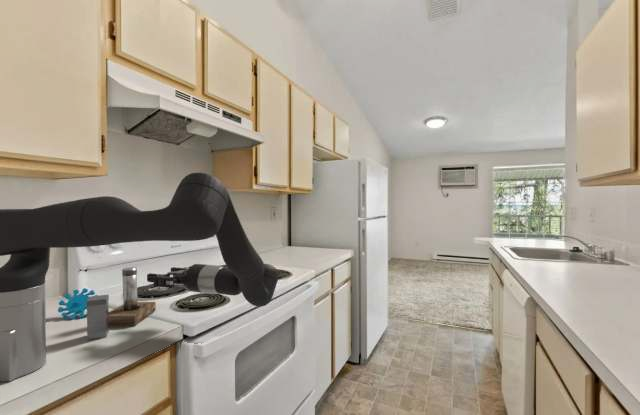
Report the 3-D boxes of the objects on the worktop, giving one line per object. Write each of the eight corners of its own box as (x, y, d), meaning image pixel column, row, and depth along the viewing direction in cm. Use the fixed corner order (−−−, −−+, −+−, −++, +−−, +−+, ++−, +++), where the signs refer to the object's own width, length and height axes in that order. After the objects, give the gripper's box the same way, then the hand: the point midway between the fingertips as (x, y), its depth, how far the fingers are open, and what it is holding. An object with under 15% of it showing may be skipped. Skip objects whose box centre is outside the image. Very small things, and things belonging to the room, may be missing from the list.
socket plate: (134, 326, 86) (134, 315, 86) (101, 326, 86) (101, 316, 86) (155, 311, 98) (155, 301, 98) (126, 311, 98) (126, 302, 98)
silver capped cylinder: (133, 317, 90) (132, 269, 90) (120, 317, 90) (119, 269, 90) (140, 312, 94) (139, 266, 94) (127, 313, 94) (126, 267, 93)
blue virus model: (49, 316, 89) (66, 286, 96) (55, 325, 93) (71, 295, 100) (93, 318, 92) (106, 288, 99) (97, 326, 96) (110, 297, 103)
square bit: (106, 337, 79) (106, 298, 79) (86, 340, 77) (86, 300, 77) (109, 331, 83) (108, 294, 83) (90, 334, 81) (89, 296, 81)
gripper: (189, 300, 77) (139, 293, 82) (223, 285, 91) (178, 281, 95) (189, 270, 77) (139, 265, 82) (223, 260, 90) (178, 256, 95)
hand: (160, 274), depth 89 cm, fingers open, 8 cm apart
